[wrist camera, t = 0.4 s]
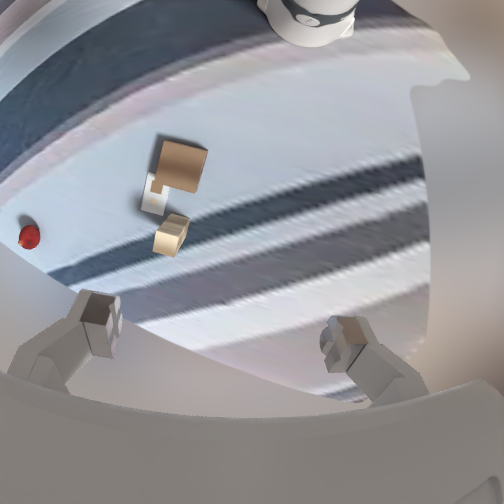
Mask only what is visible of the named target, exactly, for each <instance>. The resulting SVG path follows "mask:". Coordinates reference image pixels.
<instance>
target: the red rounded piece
mask: <svg viewBox="0 0 504 504" xmlns="http://www.w3.org/2000/svg"><path fill="white" fill-rule="evenodd" d="M39 242H40V232H39V231H38V229H37V228H36V227H35V226H32V225H27V226H25V227H24V228H23V229H22V230H21V232H20V235H19V241H18V244H19V245H21V246H22V247H23V248H25V249H33V248H35V247H36V246H37V245H38V244H39Z"/></svg>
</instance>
